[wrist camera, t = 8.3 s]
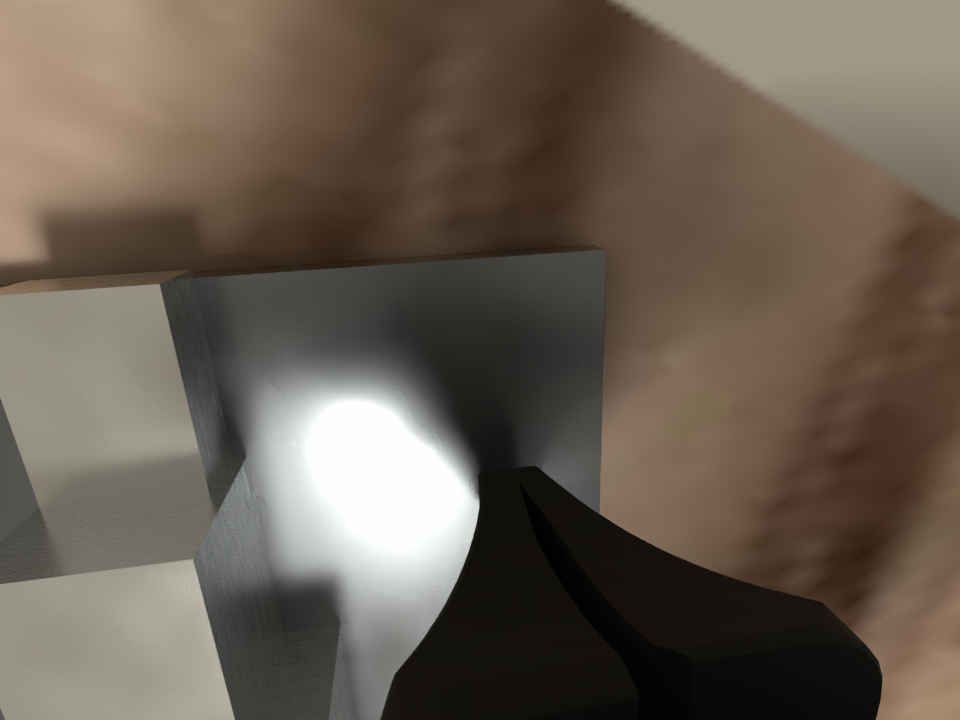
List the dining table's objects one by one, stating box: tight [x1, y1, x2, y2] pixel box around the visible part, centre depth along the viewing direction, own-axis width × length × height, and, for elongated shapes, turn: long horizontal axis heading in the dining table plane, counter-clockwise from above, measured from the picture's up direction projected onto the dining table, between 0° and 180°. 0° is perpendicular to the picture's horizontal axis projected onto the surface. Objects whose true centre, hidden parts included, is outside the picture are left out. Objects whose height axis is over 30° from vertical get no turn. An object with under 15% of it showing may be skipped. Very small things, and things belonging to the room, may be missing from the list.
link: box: [0, 269, 356, 720], centre depth 11 cm, size 15×6×4 cm, turn 3°
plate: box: [0, 245, 606, 720], centre depth 13 cm, size 15×23×1 cm, turn 93°
